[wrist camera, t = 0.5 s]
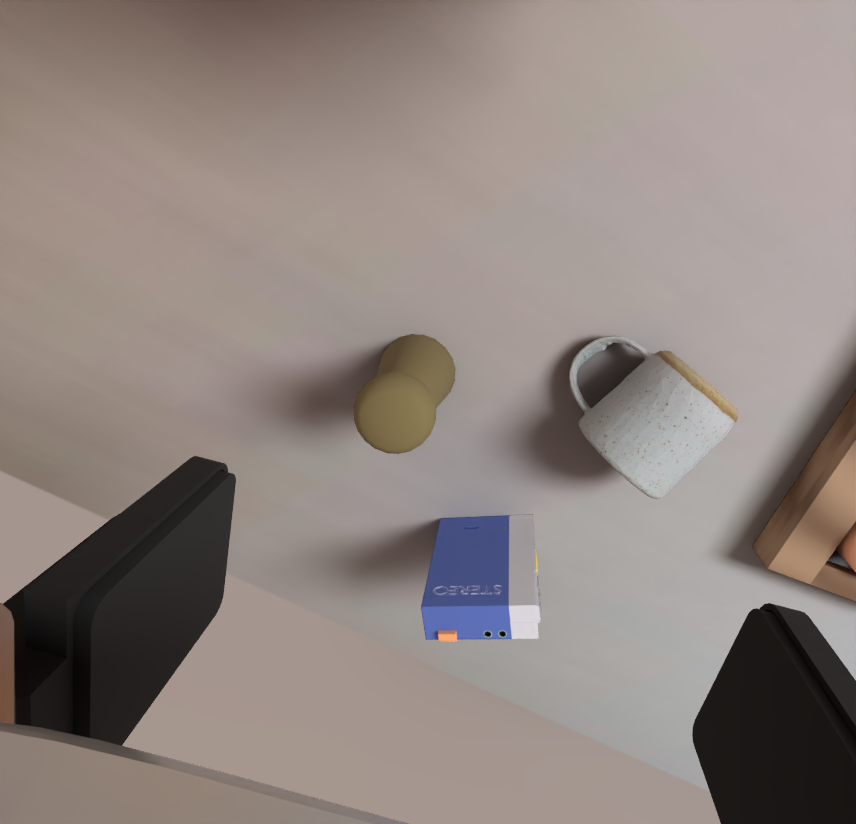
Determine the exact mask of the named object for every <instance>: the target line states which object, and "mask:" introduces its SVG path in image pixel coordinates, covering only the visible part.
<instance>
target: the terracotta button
mask: <svg viewBox="0 0 856 824" xmlns="http://www.w3.org/2000/svg"><path fill="white" fill-rule="evenodd" d="M836 550H837V552H838V553H839V554H840V556H841V557H842V558H843V559H844V560H845V561H846V562H847V563H848V564H849V565H850V566H851V568H852V569H853V570H854V571H855V572H856V522H855V523H854V524H853V526H852V527H851V529H850V530H849V531H848V533H847V534H846V535H845V537H844V538H843V540H842V541H841V542H840V544H839V545H838V546H837V548H836Z"/></svg>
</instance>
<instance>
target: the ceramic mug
mask: <svg viewBox="0 0 856 824" xmlns="http://www.w3.org/2000/svg"><path fill="white" fill-rule="evenodd" d="M612 343H618V344H625V345H627V346H629V347H632V348H633V349H635V350H637V351H638V352H639V353H640V354H642V355H643V356H644V358H645V360H644V361H643V362H642V363H641V364H640V365H639V366H638V367H637V368H636V369H635V370H633V371H632V372H631V373H630V374H629V375H628V376H627V377H625V378H624V380H623V381H622V382H621V383H620V384H619V385H618V386H617V387H616V388H614V389H613V390H612V391H611V392H609V393H608V394H607V395H606V396H605V397H604V398H603V399H601V400H600V401H599V402H598V403H597V404H596V405H595V406H594V407H593V408H591V407H589V406H588V404H587V403H586V401H585V400H584V398H583V397H582V395H581V393H580V390H579V387H578V384H577V371H578V370H579V368H580V366H581V365H582V364H583V363H584V362H586V361H587V360H588V359H589V358H590V357H591V356H593V355H594V354H595V353H597V352H598V351H603V350H604V349H605V348H606V347H607V346H608V345H610V344H612ZM569 380H570V387H571V390H572V393H573V395H574V397H575V400H576V401H577V403H578V404H579V406H580V407H581V409H582V410H583V411H584V413H585V414H584V416H583V417H582V418H581V419H580V420H579V427H580V429H581V431H582V432H583V434H584V436H585V437H586V438H587V439H588V441H589V442H590V443H591V444H592V445H593V447H594V448H595V449H596V450H597V451H598V452H599V453H600V455H601V456H603V457H604V458H605V459H606V461H607V462H608V463H609V464H610V465H611V466H612V467H613V468H614V469H615V470H616V471H617V472H619V473H620V474H621V475H622V476H623V477H624V478H626V479H627V480H628V481H629V482H630V483H631V484H633V485H634V486H635V487H637V488H638V489H639V490H640V491H642V492H643V493H644V494H646V495H647V496H649V497H651V498H654V499H659V498H661V497H663V496H664V495H665V494H666V493H667V492H668V491H669V490H670V489H671V488H672V487H673V486H674V485H675V484H676V483H677V482H678V481H679V480H680V479H681V478H682V477H683V476H684V475H685V474H686V473H688V472H689V471H690V470H691V469H692V468H693V467H694V466H695V465H696V464H697V463H698V462H699V461H700V460H701V459H702V458H703V457H704V456H705V455H706V454H707V453H708V452H709V451H710V450H711V449H712V448H714V447H715V446H716V445H717V444H718V443H719V442H720V441H721V440H722V439H723V438H724V437H725V436H726V435H727V433H728V432H729V431H730V429H731V428H732V426H733V425H734V424H735V422H736V421H737V419H738V412H737V409H736V408H735V407H734V406H733V405H732V404H731V403H730V402H729V401H728V400H727V399H726V398H725V397H724V396H723V395H721V394H720V393H719V392H718V391H717V390H716V389H715V388H714V387H712V386H711V385H710V384H709V383H708V382H707V381H705V380H704V379H703V378H702V377H701V376H700V375H698V374H697V373H696V372H695V371H694V370H693V369H691V368H690V367H689V366H688V365H687V364H686V363H684V362H683V361H682V360H681V359H680V358H678V357H677V356H676V355H675V354H674V353H672V352H670V351H659V352H657V353H655V354H650V353H649V352H647V351H646V350H645V349H644V348H643V347H641V346H640V345H639V344H637V343H635V342H634V341H632V340H629V339H627V338H624V337H619V336H607V337H602V338H598V339H596V340H594V341H592V342H591V343H589V344H588V345H586V346H585V347H584V348H583V349H581V350H580V351H579V352H578V354H577V355H576V356H575V357H574V359H573V361H572V364H571V367H570V370H569Z"/></svg>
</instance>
